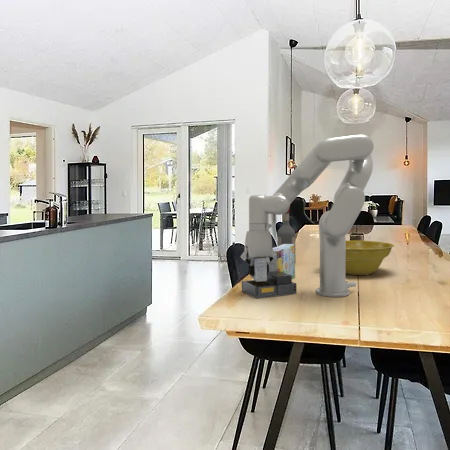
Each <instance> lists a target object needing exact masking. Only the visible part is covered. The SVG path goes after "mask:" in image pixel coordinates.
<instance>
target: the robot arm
mask: <svg viewBox="0 0 450 450" xmlns="http://www.w3.org/2000/svg"><path fill="white" fill-rule="evenodd" d="M374 148H375V147H374V142H373V140H372V138H371V137H370V136H369V135H366V134H355V135H354V134H353V135H345V136H338V137H336V136H335V137H328V138H327V137H326V138H324V139H322V140H320V141H318V142H317V144H315V145H314V146H313V148H312V149H311V150H310V151H309V152H308V154H306V156H305V157H304V158H303V159H302V160H301V162H300V163H299V164H297V166H296V167H295V168H294V170H293V171H292V172H291V173H290V175H289V176H288V177H287V179H285V181H284V182H283V183H282V184H281V185H280V186H279V188H278V189H277V190H276V191H275V192H274V193H273V194H272V195H266V194H264V195H263V194H253V195H250V196H249V198H248V231H246V233H245V240H244V251H243V252H242V254H241V255H240V258H241V259H242V260H243V261H244V262H245V263H246V264H247V265H248V275H250V277H251V276H254V275H255V267H254V266H253V263H254V259H255V258H261V257H264V258H266V259H267V275H268V272H269V264H270V262H271V261H272V260H273V258H274V257H275V256H276V255H277V254H276V253H275V251H274V250H273V249H272V248H273V240H272V233H271V231H270V228H272V226H273V225H272V224H271V223H270V222H269V221H270V218H269V217H270V216H269V215H278V216H279V215H280V216H282V215H283V214H285V213H286V212H287V211H288V210H289V207H290V208H291V204H292V203H293V202H294V200H295V199H296V198H297V197H298V196H299V195H300V194H301V193H302V192H303V191H305V190H306V189H308V188H309V187H310V186H312V185H313V184H314V182H316V180H317V179H318V178H319V177H320V176H321V174H323V172H324V171H325V170H326V169H327V168H328V167H329V166H330V164H331V163H332V162H344V161H348V163H349V165H348V169H347V171H346V173H345V175H344V177H343V179H342V181H341V182H340V184H339V186H338V188H337V190H336V191H335V193H334V197H333V200H334V202H333V205H332V207H331V208H330V210H326V211H325V212H324V213H323V214H322V215H321V217H320V219H319V222H318V230H319V232H318V233H319V287H318V288H316V289H315V293H316V294H317V295H318V296H323V297H329V298H330V297H331V298H340V297H347V296H349V295H350V288H354V287H355V288H356V286H357V283H356V282H355V281H351V282H349V281H347V280H346V241H347V240H346V236H347V234H348V233H349V232H350V231H351V229H352V228H353V226H354V224H355V222H356V220H357V218H358V217H359V215H360V213H361V212H362V209H363V207H364V205H365V201H366V195H365V191H364V190H365V189H366V187H367V184H368V183H369V180H370V178H371V177H372V173H373V168H374V163H373V158H372V157H373V156H372V153H373V150H374ZM247 257H248V258H247Z"/></svg>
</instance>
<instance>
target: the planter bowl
mask: <svg viewBox="0 0 450 450" xmlns="http://www.w3.org/2000/svg"><path fill="white" fill-rule="evenodd" d="M394 247H395V245H394V244H393V243H389V242H384V241H373V240H346V274H347V275H352V276H354V275H355V276H365V275H371V274H374V273H375V272H376V271H378V269H379V268H380V266H381V265H382V262H383V260H384V259H385V258H387V257H388V256H389V255H390V254H391V252H392V248H394Z"/></svg>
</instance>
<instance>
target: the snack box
mask: <svg viewBox="0 0 450 450" xmlns="http://www.w3.org/2000/svg"><path fill="white" fill-rule="evenodd" d="M272 249H273V250H274V251H275V253H276V254H277V255H276V256H275V257H274V258H273V260H272V261H271V262H270V264H269V272H271V271H281V272H283V273H286V274H289V275H292V279H294V278H296V252H295V253H294V244H283V245H280V246H275V247H272Z"/></svg>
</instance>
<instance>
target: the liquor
mask: <svg viewBox="0 0 450 450" xmlns="http://www.w3.org/2000/svg"><path fill="white" fill-rule="evenodd" d="M290 208H291V206H290V207H289V210H288V211H287V212H286V213H285V214H282V215H283V217H282V218H283V219H282V220H283V221H282V225H281V226H280V227H279V229H278V230H277V234H276V235H277V246H280V245H283V244H294V253H295V254H296V232H295V230H294V228H293V227H292V225H291V223H290V212H291V211H290V210H291V209H290ZM277 246H276V247H277Z"/></svg>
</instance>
